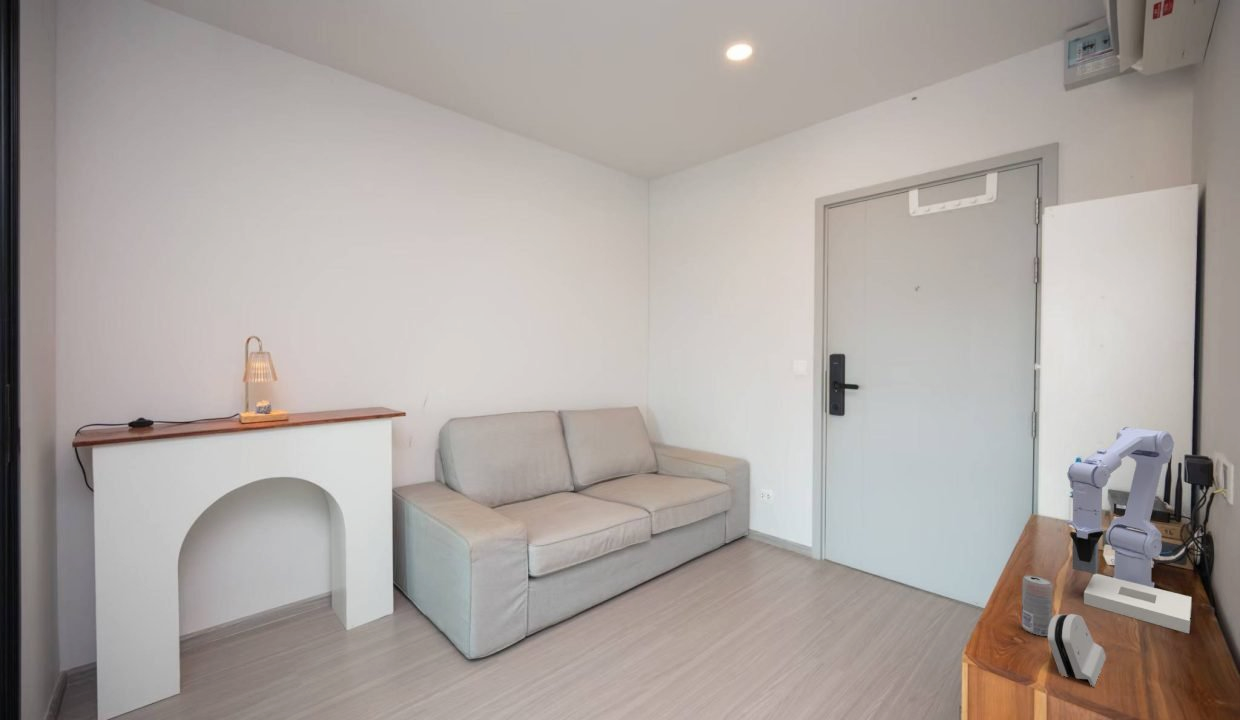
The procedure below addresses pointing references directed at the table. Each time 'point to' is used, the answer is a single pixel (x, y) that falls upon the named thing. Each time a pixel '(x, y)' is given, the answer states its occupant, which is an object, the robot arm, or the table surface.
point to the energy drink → (1036, 604)
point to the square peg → (1086, 566)
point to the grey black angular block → (1075, 648)
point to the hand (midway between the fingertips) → (1086, 558)
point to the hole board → (1139, 602)
